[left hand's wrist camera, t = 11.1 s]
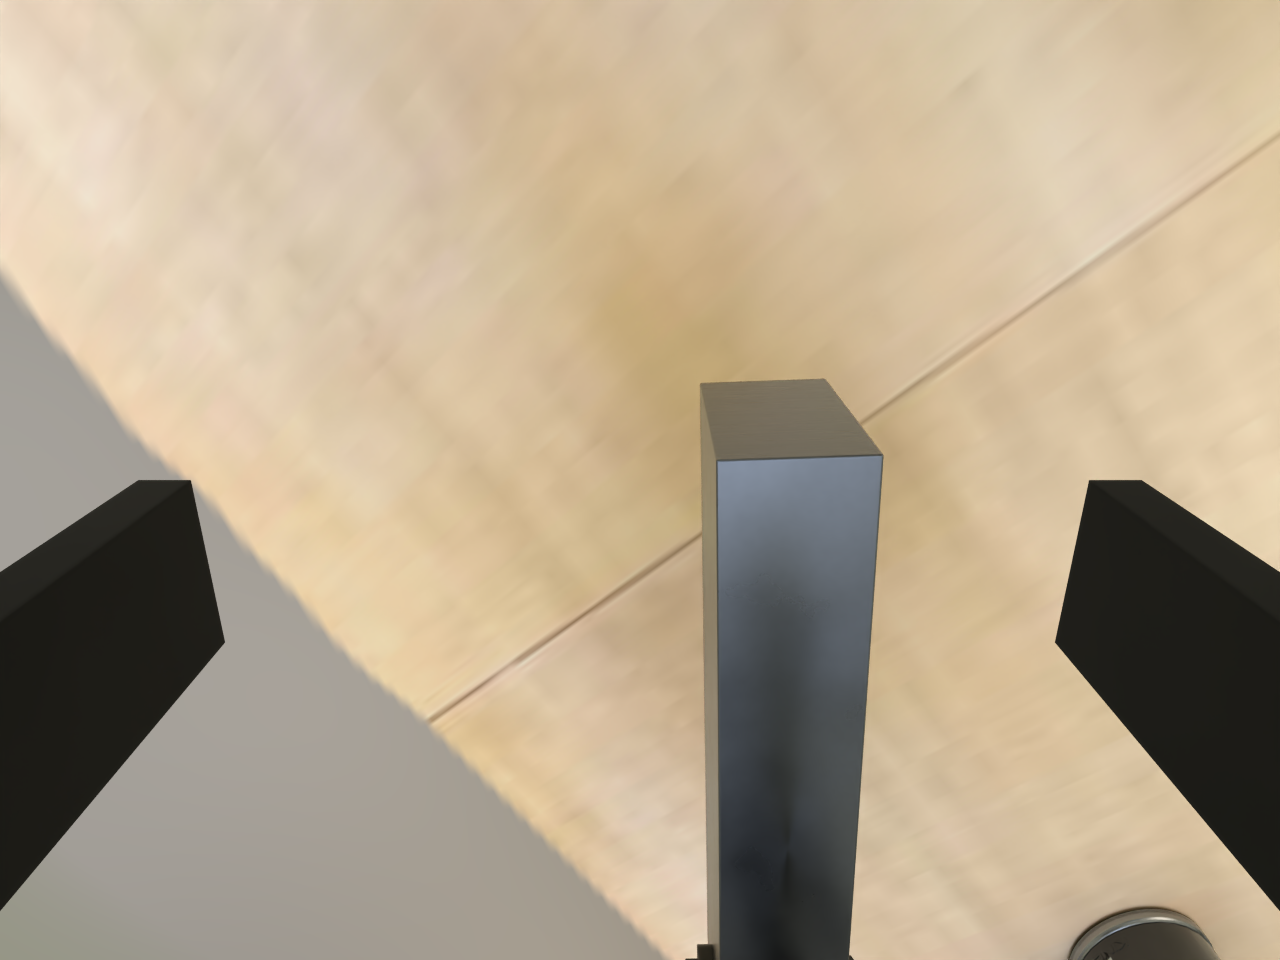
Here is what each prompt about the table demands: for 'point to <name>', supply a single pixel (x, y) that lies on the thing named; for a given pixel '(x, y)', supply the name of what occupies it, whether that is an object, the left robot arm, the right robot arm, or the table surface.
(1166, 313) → the table surface
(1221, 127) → the table surface
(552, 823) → the table surface
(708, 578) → the bar
